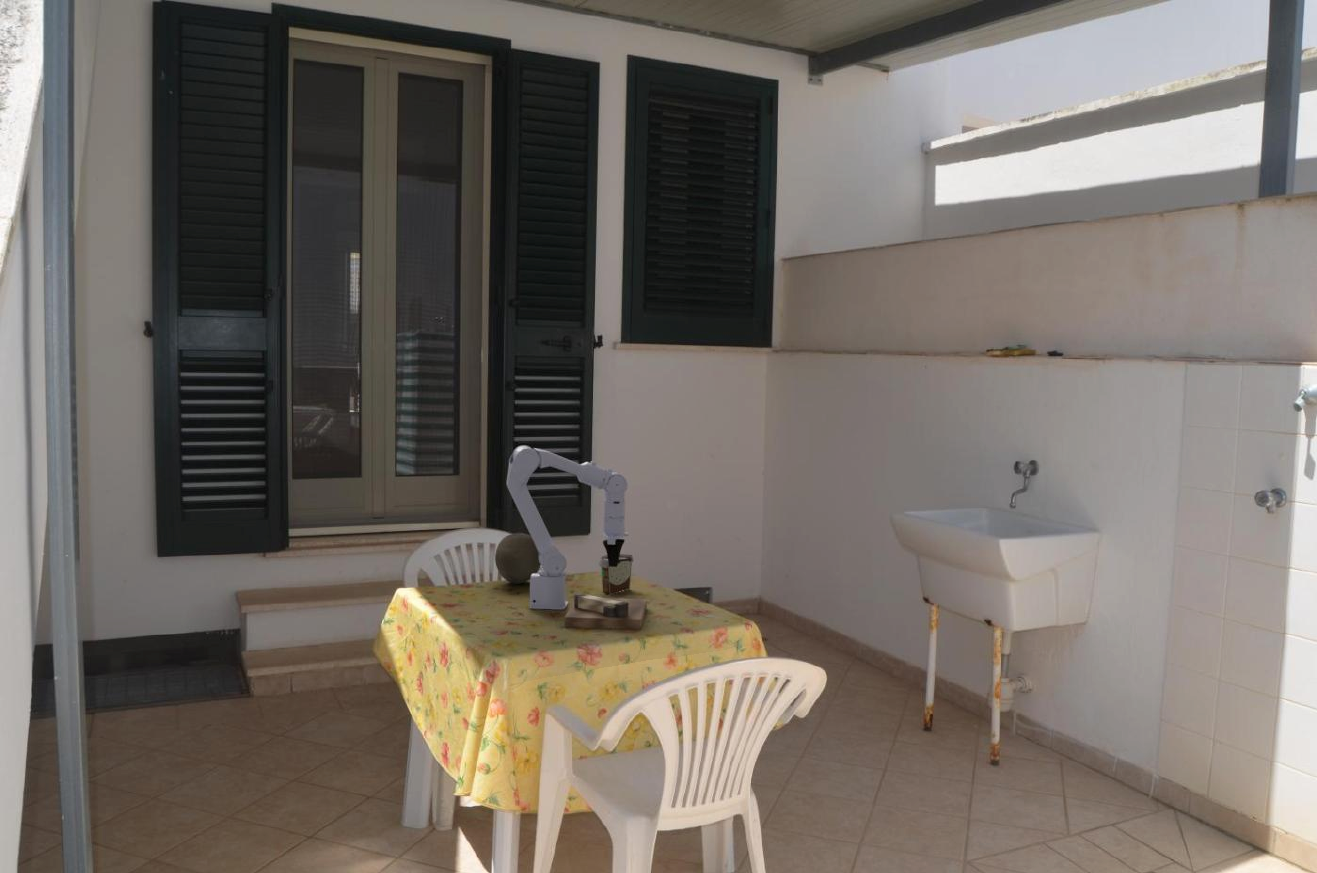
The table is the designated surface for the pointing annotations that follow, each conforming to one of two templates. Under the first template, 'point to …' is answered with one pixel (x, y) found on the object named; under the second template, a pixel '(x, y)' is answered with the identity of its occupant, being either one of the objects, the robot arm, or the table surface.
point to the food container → (616, 574)
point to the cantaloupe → (517, 558)
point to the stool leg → (600, 604)
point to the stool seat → (608, 616)
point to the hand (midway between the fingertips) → (613, 566)
